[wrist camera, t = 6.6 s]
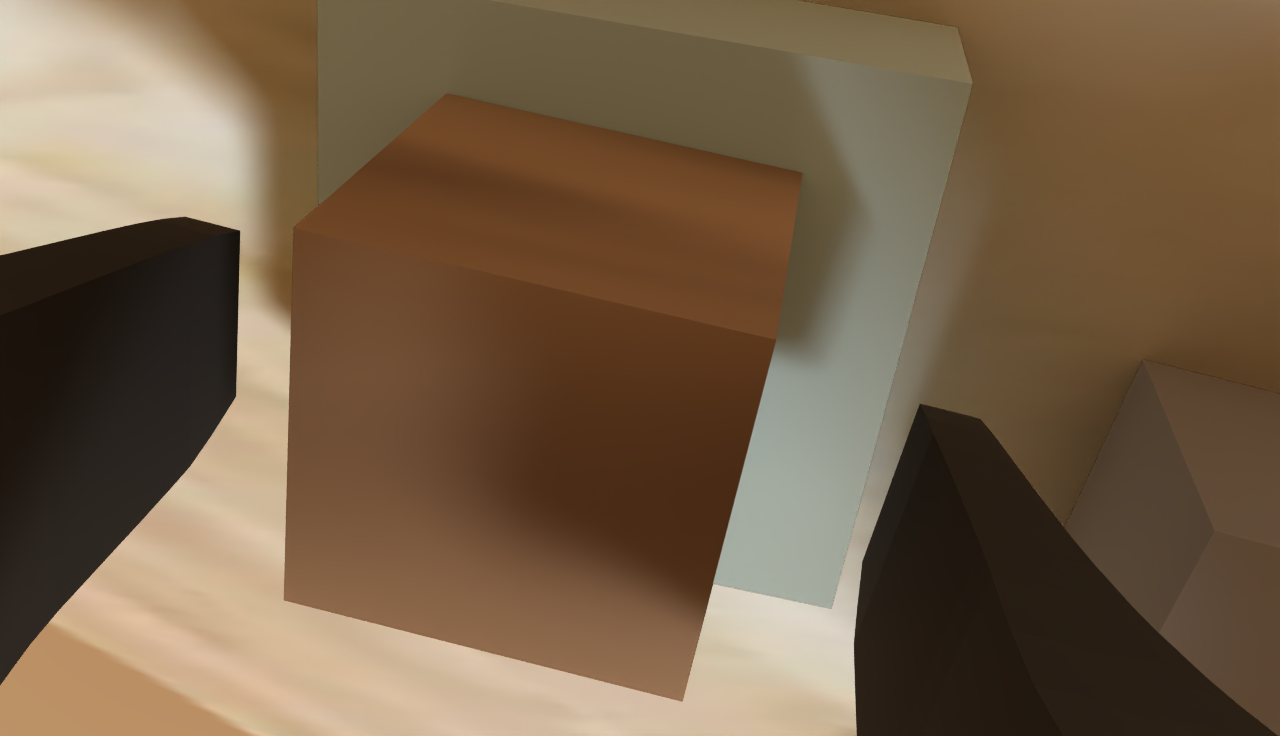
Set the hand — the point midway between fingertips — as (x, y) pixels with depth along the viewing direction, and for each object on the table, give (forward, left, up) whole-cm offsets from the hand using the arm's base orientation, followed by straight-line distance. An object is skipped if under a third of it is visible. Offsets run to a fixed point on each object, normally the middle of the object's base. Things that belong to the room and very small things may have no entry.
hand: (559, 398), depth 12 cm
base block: (0, 0, -5) cm, 5 cm away
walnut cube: (0, 0, -2) cm, 2 cm away
